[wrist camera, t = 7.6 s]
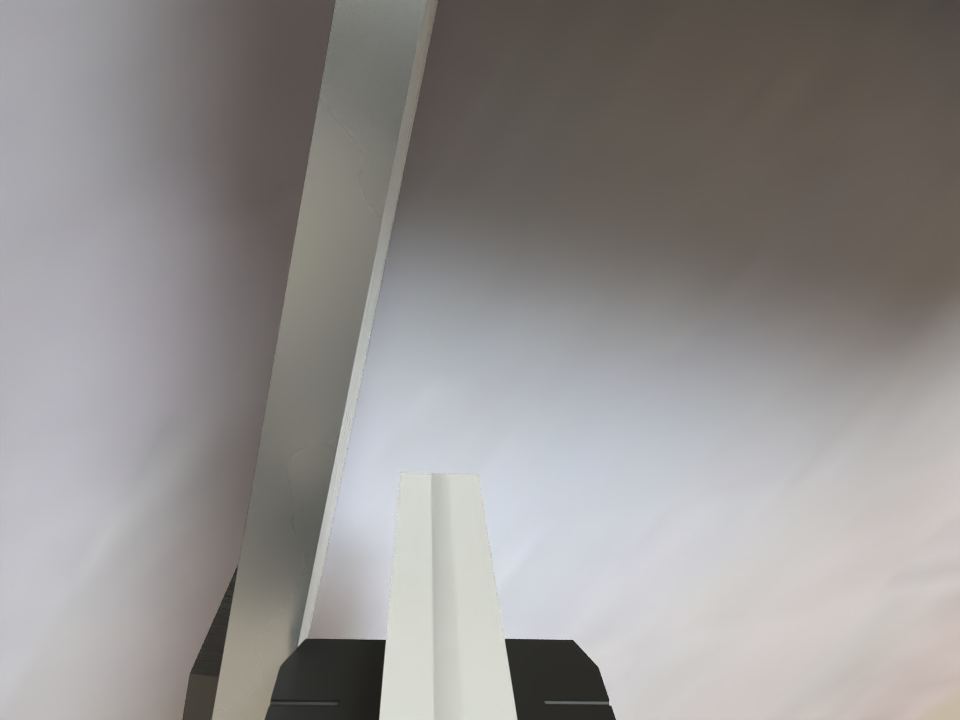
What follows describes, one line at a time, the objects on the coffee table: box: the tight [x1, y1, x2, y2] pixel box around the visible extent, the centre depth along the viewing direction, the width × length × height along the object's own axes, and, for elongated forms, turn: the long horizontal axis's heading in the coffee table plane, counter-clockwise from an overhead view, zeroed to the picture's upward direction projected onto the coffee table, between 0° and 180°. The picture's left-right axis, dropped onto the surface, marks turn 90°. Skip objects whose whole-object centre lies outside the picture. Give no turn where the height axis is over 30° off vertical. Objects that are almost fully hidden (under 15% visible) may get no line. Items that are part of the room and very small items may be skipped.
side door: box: [183, 0, 438, 720], centre depth 11 cm, size 14×2×8 cm, turn 167°
